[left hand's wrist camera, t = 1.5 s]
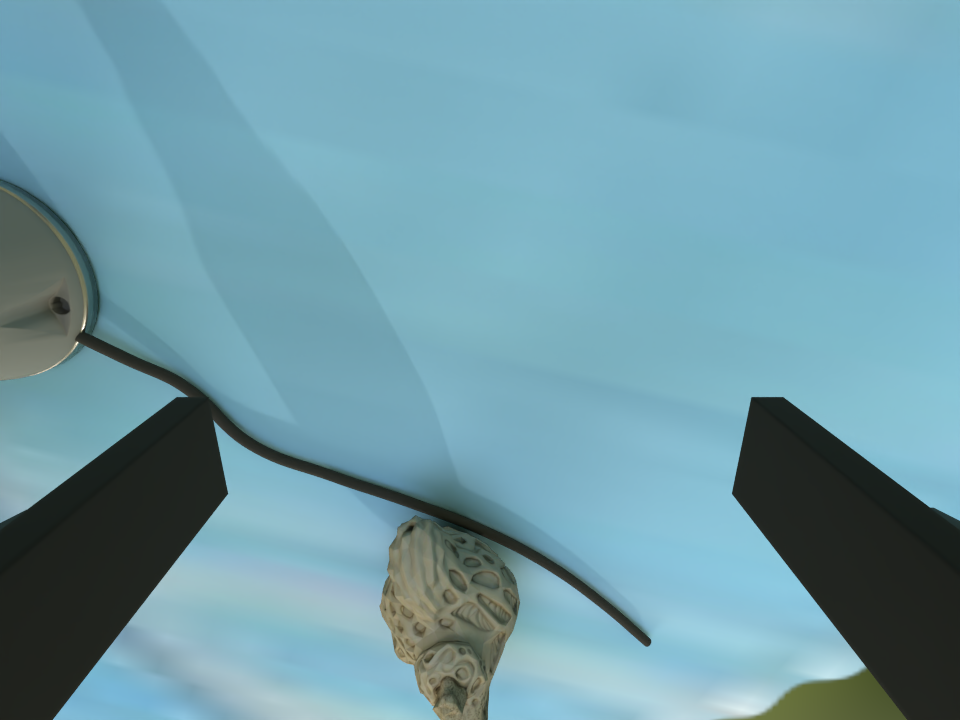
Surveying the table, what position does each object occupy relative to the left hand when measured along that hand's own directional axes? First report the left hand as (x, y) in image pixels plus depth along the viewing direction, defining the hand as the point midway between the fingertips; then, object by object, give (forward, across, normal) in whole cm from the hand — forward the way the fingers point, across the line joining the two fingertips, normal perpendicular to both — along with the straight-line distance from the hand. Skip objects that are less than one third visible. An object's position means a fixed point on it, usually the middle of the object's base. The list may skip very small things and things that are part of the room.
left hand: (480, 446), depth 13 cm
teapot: (+28, -2, -29) cm, 40 cm away
